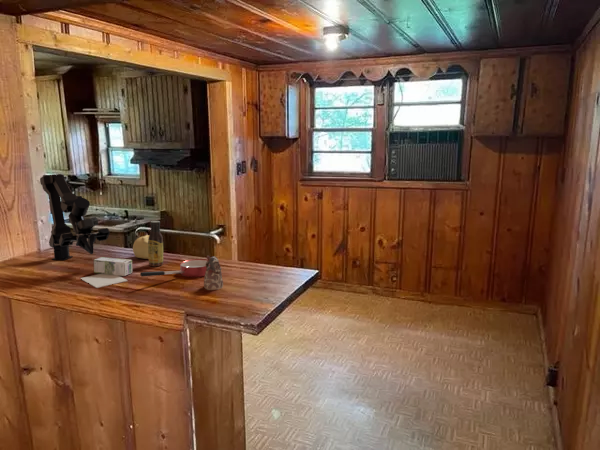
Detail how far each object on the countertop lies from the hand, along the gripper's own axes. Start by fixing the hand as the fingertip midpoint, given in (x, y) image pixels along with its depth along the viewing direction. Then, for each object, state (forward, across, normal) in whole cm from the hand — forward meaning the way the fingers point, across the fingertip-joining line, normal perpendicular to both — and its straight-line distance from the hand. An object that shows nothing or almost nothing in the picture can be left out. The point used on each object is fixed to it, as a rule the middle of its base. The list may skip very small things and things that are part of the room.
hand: (92, 253), depth 176 cm
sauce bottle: (+10, +25, +3) cm, 27 cm away
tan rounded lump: (-1, +29, +14) cm, 32 cm away
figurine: (+40, +26, -27) cm, 55 cm away
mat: (+13, 0, 0) cm, 13 cm away
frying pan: (+27, +22, -14) cm, 38 cm away
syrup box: (+2, +2, +6) cm, 7 cm away
